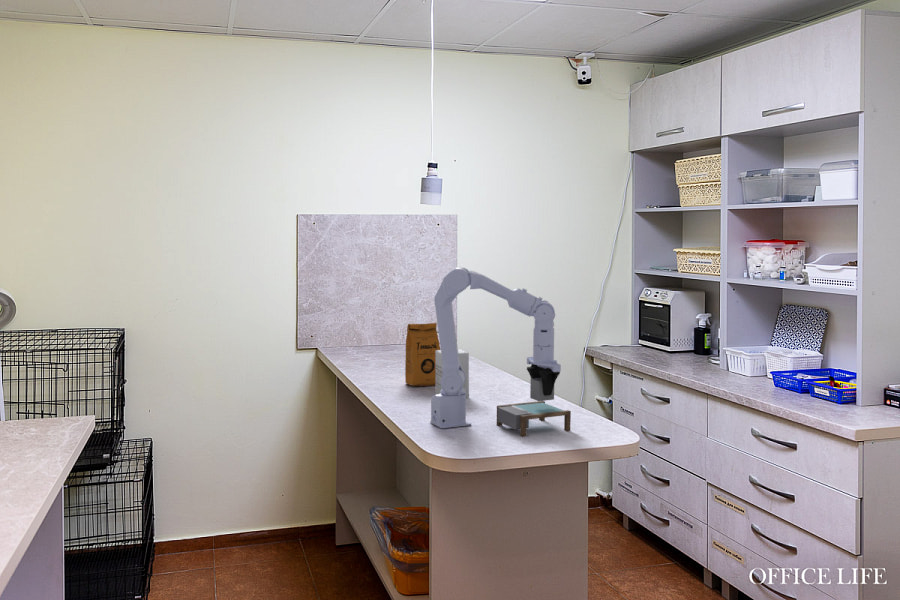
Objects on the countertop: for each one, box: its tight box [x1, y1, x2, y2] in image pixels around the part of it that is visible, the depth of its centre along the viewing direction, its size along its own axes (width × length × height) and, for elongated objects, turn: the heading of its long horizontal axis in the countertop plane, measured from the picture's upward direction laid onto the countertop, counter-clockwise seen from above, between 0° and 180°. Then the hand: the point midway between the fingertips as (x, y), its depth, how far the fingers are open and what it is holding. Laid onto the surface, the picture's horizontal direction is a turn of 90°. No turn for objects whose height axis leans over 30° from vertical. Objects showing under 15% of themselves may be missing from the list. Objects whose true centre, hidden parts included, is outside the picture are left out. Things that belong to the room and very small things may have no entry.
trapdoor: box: [498, 402, 565, 431], centre depth 219 cm, size 15×11×4 cm
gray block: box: [529, 378, 555, 402], centre depth 220 cm, size 5×4×6 cm
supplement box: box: [435, 348, 470, 399], centre depth 261 cm, size 9×9×15 cm
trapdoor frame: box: [496, 400, 572, 438], centre depth 220 cm, size 15×14×6 cm
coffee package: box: [404, 322, 441, 387], centre depth 279 cm, size 10×12×22 cm
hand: (542, 393), depth 221 cm, fingers closed on gray block, 4 cm apart
